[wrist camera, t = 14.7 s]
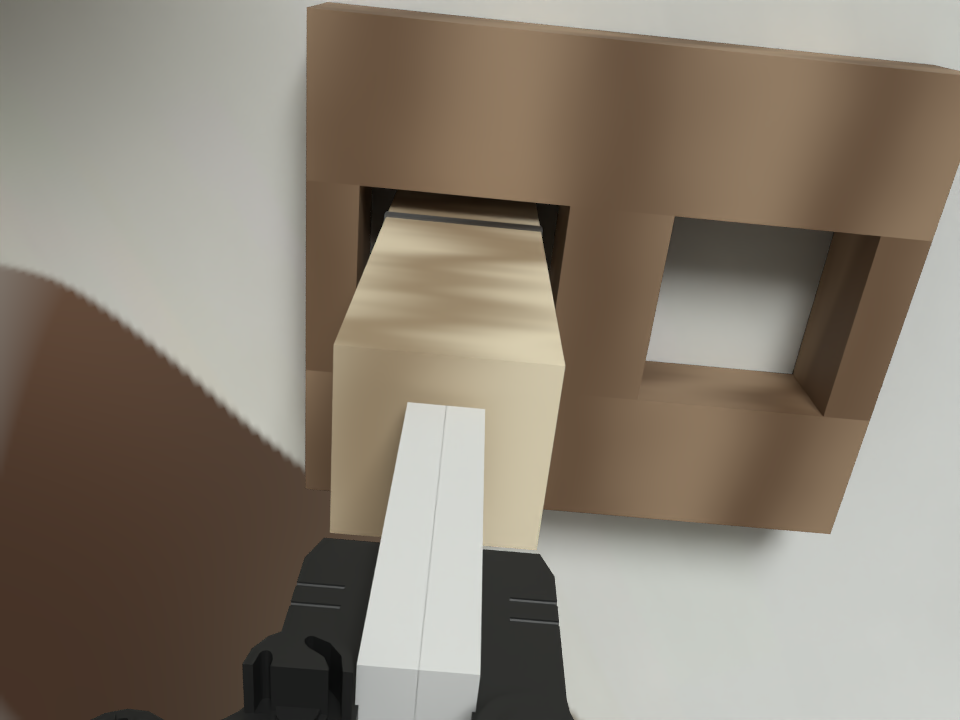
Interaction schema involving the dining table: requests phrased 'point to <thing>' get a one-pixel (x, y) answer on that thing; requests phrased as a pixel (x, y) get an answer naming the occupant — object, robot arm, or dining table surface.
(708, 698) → the dining table surface
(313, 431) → the walnut board
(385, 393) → the beech peg
